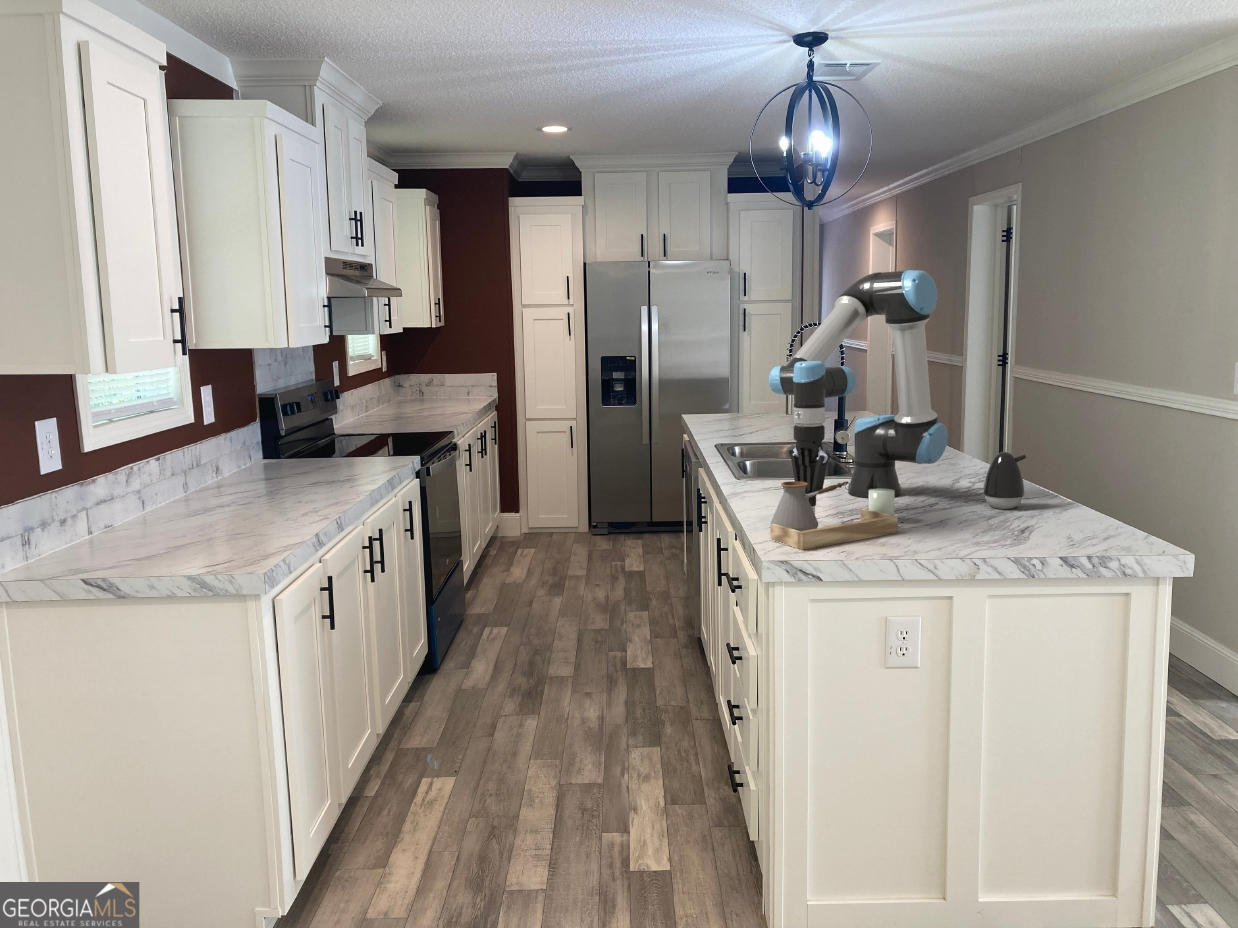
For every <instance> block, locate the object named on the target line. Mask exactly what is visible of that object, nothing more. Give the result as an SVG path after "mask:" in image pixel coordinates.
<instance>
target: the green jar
mask: <svg viewBox="0 0 1238 928" xmlns="http://www.w3.org/2000/svg"><path fill="white" fill-rule="evenodd" d="M895 497H896V496H895V491H894V490H892V489H883V488H878V489H870V490H869V498H868V509H867V510H871V511H876V512H880V513H884V514H889V515H893V516H895Z"/></svg>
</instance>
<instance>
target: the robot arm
mask: <svg viewBox="0 0 1238 928" xmlns="http://www.w3.org/2000/svg"><path fill="white" fill-rule="evenodd" d="M938 298H939V297H938V288H937V285H936V283H935V280H934V278H933V276H931V275H930V274H929V273H928V272H926V271H925V270H917V269H915V270H912V269H908V270H906V269H905V270H895V271H884V272H879V271H878V272H872V273H869V274H867V275H865V276H863V277H861V278H859V279H858V280H857V281H855V282H854V283H852V284H851V285H849V286H848V287H847V288H846V289H845V290H844V291H843V292H842V293H841V294H840V295H839V296H838V298H837V299H836V300H835V301H834V305H833V306H834V307H833V309H832V310H831V311H830V312H829V313H828V315H827V316H826V317H825V319H823V321H822V322H821V324H819V326H818V327H817V328H816V330H815V331H814V332H813V333H812V334H811V335H810V337H809V338H808V339H807V340H806V341H805V343H803V345H802V346H801V347H800V348H799V350H798V351H797V352H796V353H795V354H794V356H792V358H791V359H790V361H789V362H788V363H787V364H786V365H783V364H782V365H778V366H777V365H776V366H775V367H773V368H772V369H771V370H770V373H769V376H768V385H769V387H770V389H771V391H772V392H773V393H774V394H775V395H776V394H778V395H782V396H783V395H784V396H793V423H794V424H795V425H794V426H793V440H794V441H796V442H795V446H794V448H793V449H790V450H789V451H788V455H789V457H790V460H791V465H792V466H791V467H792V473H793V478H794V479H793V481H799V482H806V483H808V486H806V490H805V493H806V495H807V494H810V493H813V492H817V491H819V490H821V489H824V484H825V478H826V472H827V469H828V464H829V461H830V459H831V455H830V454H826V453H825V452H824V448H823V444H822V443H823V441H824V440H825V436H826V434H825V433H826V432H825V431H826V430H825V429H826V427H825V425H824V423H825V422H826V414H825V413H826V412H825V411H826V410H825V409H826V408H825V407H826V406H825V403H826V401H825V400H826V399H830V398H841V397H844V396H847V395H849V394H851V393H852V391H853V390H854V389H855V387H856V381H857V380H856V374H854V372H853V370H852V369H851V368H850V367H847V366H840V365H836V366H826V365H825V364H826V362H827V361H828V360H829V359H830V358H831V357H832V355H833V354H834V353H835V352H836V350H838V348H839V347H840V345H841V344H842V343H843V342H844V340H845V339H846V338H847V337H848V336H849V334H850V333H851V332H852V331H853V329H854V328H855V327H856V326H858V325H861V324H863V323H864V322H865V321H866V319H867V318H869V317H873V316H884V320H885V325H886V326H888V327H889V328H890V329H891V333H892V335H891V336H892V345H893V357H894V366H895V369H894V371H895V381H896V391H897V400H898V401H897V402H898V404H897V405H898V412H897V414H896V415H895V414H884V415H876V416H874V415H873V416H866V417H862V418H861V417H860V418H858V419H857V420H856V421H855V423H854V432H853V434H854V463H853V464H854V467H853V471H852V475H851V478H850V482H849V483H850V484H851V489H850V484H847V485H848V486H847V489H850V490H847V493H848V494H849V495H850V496H854V497H859V498H868V499H869V490H870V489H878V488H883V489H892V490H894V491H895V497H899V496H900V495H902V485H901V484H900V482H899V477H898V473H897V470H896V462H905V463H913V464H918V465H922V464H923V465H924V464H925V465H926V464H928V465H931V464H935V463H938V461H939V460H940V459H941V458H942V456H943V454H944V453H945V450H946V448H947V446H948V445H947V444H948V438H949V435H948V434H949V433H948V428H947V427H946V425H945V424H944V423H941V422H939V419H938V414H937V412H935V410H933V409H932V404H931V402H932V401H931V392H930V391H931V389H930V379H929V377H930V376H929V365H928V364H929V363H928V351H927V338H926V327H925V326H926V323H928V321H930V320H931V313H933V312H934V311H935V309H936V307H937V302H938ZM808 500H809V502H810V505H811V507H812V509H813V512H814V514H815V515H816V506H817V495H815V496H813V497H810V498H808Z"/></svg>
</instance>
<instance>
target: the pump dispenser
mask: <svg viewBox="0 0 1238 928" xmlns="http://www.w3.org/2000/svg"><path fill="white" fill-rule="evenodd" d="M1025 459H1027V456H1026V454H1022V455H1019V456H1015V455H1013V454H1012V453H1011V452H1008V451H1001V452H999V453H997V454H996V455H995V456H994V457H993V459H992V460H991V462H990V465H989V467H988V470H987V472H986V476H985V478H984V479H985V480H984V484H983V495H984V498H985V499H984V500H985V501H986V503H987V504H988V505H989V506H990V507H992V508H994V509H998V510H999V509H1000V510H1011V509H1014V508H1017V507H1018V506H1019V505H1020V504H1021V502H1022V500H1023V498H1024V496H1025V486H1024V485H1025V483H1024V478H1023V474H1022V471H1021V470H1022V469H1021V467H1020V464H1019V462H1021V461H1023V460H1025Z"/></svg>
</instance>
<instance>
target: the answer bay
mask: <svg viewBox="0 0 1238 928" xmlns="http://www.w3.org/2000/svg"><path fill="white" fill-rule="evenodd" d="M898 520H899V517H898V516H897V515H894V516H893V515H889V514H884V513H880V512H876V511H871V510H868V509H866V508H861V509H860V520H859V521H853V522H847V523H843V524H842V523H841V524H836V525H830V526H825V527H817V529H812V530H806V531H798V530H794V529H791V528H787V527H783V526H780V525H776V524H771V523H770V527H769V528H770V530H769V531H770V539H772V540H775V541H778V542H781V543H784V544H787V545H790V546H792V547H791V548H793V547H795V548H794V549H797V548H798V549H797V550H800V549H801V550H800V551H806V550H805V549H807V550H810V549H816V547H817V548H822V547H827V546H833V545H838V544H843V543H849V542H854V541H859V540H864V539H869V538H877V537H880V536H881V537H882V536H884V535H885V536H888V535H891V534H892V535H893V534H897V533H898V526H899V525H898V523H899V522H898ZM787 545H786V546H787ZM790 546H789V547H790Z"/></svg>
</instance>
